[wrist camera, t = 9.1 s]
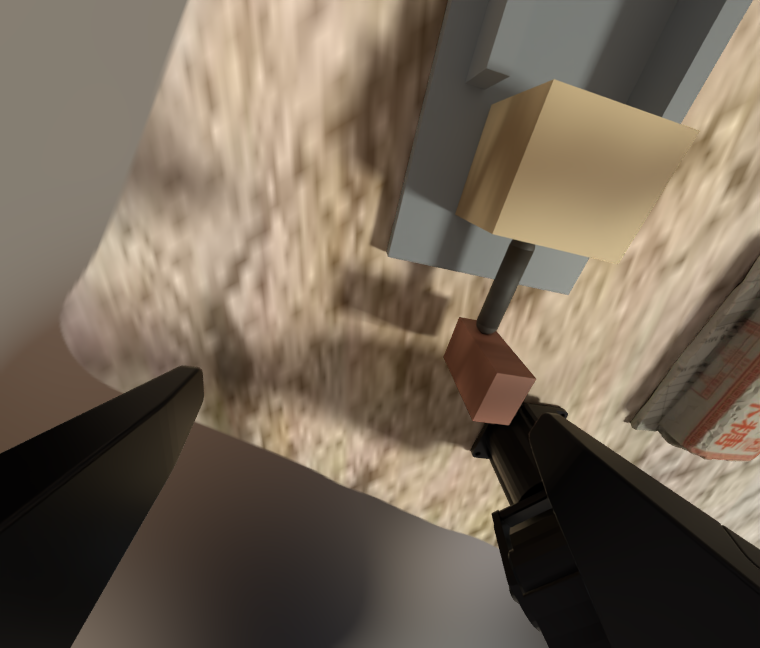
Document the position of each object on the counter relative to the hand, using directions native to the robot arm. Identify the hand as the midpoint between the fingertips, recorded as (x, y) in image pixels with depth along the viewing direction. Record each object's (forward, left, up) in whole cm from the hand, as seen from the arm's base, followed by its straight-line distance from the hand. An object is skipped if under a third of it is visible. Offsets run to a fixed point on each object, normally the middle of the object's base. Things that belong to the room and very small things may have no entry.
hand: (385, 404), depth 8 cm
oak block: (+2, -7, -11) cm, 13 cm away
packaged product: (-1, -31, -13) cm, 33 cm away
